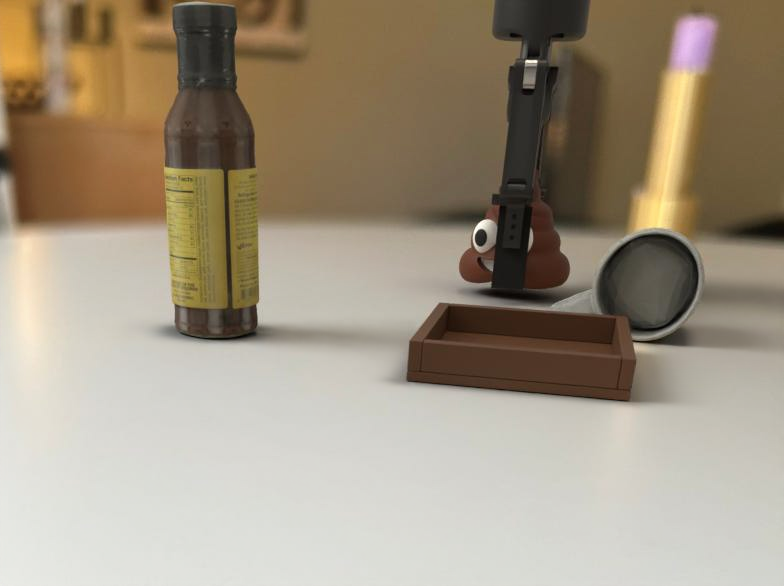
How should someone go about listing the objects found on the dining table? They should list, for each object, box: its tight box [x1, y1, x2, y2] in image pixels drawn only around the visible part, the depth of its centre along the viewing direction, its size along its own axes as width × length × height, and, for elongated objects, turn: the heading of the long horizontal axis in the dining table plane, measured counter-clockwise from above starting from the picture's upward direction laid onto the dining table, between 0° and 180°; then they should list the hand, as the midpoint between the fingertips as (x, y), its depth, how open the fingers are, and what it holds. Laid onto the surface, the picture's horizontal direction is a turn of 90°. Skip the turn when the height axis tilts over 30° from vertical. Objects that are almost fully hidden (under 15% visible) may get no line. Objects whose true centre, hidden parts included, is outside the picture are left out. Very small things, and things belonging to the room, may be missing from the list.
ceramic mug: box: [550, 227, 706, 342], centre depth 75 cm, size 11×8×8 cm
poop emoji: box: [458, 169, 571, 290], centre depth 87 cm, size 10×8×9 cm
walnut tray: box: [405, 302, 638, 401], centre depth 65 cm, size 13×14×2 cm
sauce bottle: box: [163, 1, 260, 339], centre depth 67 cm, size 6×6×20 cm
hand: (510, 280), depth 89 cm, fingers closed on poop emoji, 9 cm apart
